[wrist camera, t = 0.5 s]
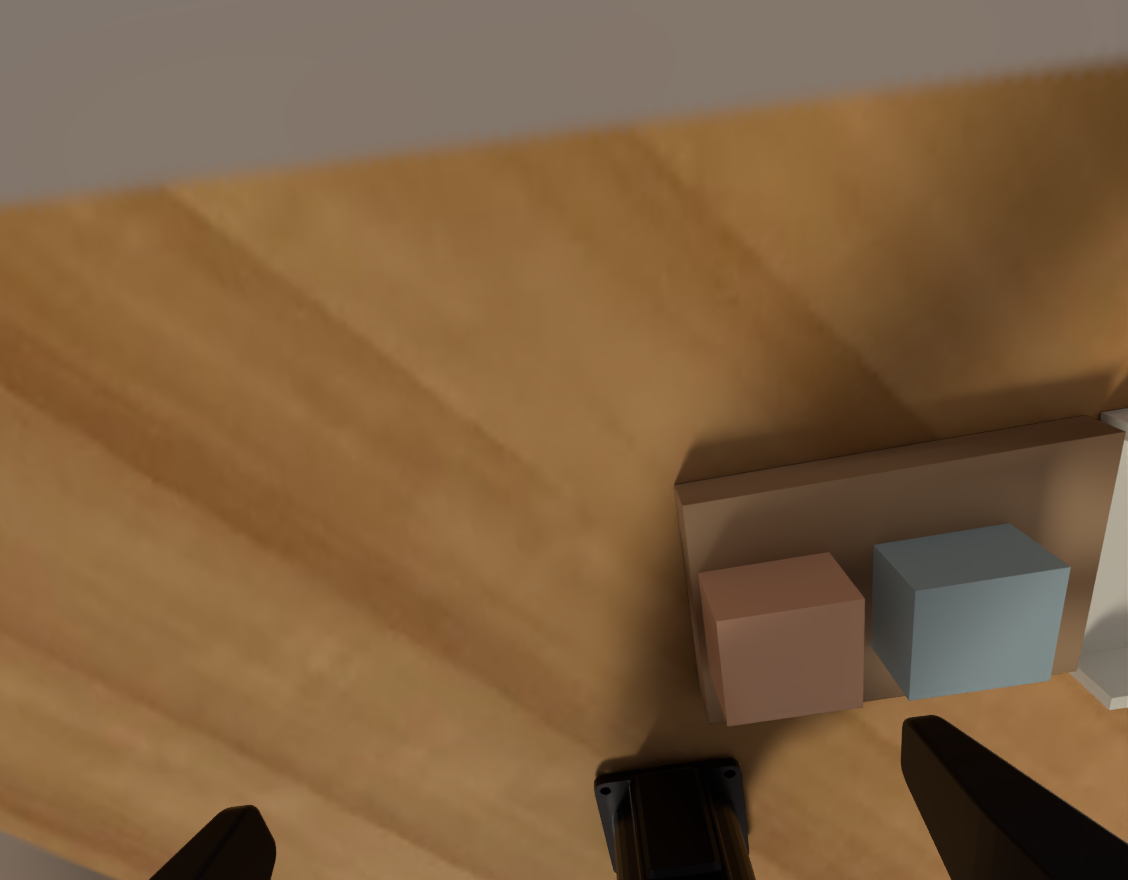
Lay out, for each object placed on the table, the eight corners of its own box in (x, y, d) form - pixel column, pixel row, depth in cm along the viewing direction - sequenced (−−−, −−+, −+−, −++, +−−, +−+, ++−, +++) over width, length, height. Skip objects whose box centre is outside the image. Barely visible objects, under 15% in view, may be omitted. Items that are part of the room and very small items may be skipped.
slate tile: (996, 627, 21) (1049, 680, 19) (870, 646, 21) (909, 700, 19) (1009, 523, 19) (1070, 567, 17) (873, 545, 20) (915, 590, 17)
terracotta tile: (830, 652, 21) (862, 707, 19) (709, 670, 22) (727, 726, 19) (828, 552, 20) (864, 598, 17) (698, 573, 20) (716, 621, 18)
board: (1046, 643, 23) (1076, 671, 22) (700, 693, 24) (709, 723, 23) (1085, 415, 20) (1125, 431, 18) (674, 485, 20) (682, 505, 19)
